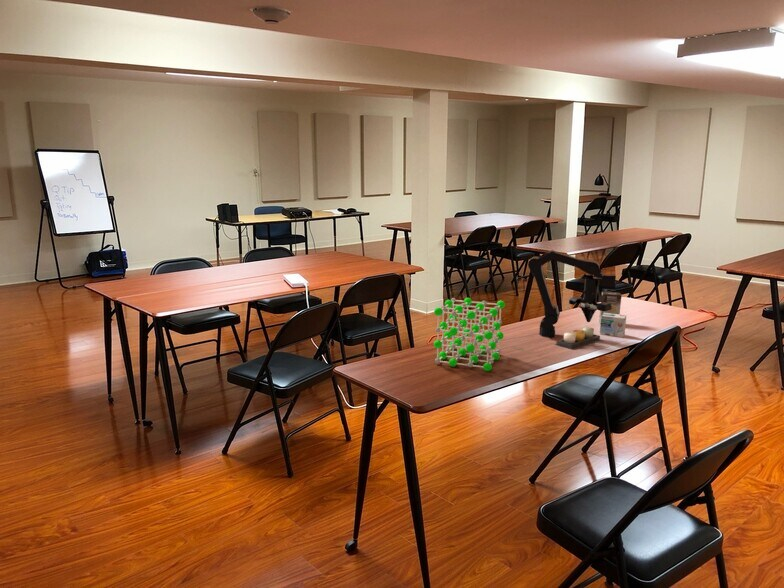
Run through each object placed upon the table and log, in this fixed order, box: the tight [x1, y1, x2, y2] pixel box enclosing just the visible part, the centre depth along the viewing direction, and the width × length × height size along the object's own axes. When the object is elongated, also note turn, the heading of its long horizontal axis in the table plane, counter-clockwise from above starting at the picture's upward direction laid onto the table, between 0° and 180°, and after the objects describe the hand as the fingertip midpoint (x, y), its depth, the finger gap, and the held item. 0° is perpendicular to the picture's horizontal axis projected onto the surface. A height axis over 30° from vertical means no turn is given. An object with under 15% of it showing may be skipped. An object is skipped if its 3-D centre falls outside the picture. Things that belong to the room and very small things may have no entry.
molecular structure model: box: [433, 297, 506, 372], centre depth 251 cm, size 24×25×24 cm
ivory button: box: [563, 332, 576, 344], centre depth 267 cm, size 5×5×4 cm
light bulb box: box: [599, 313, 627, 338], centre depth 284 cm, size 11×7×11 cm, turn 62°
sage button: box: [581, 326, 595, 338], centre depth 275 cm, size 5×5×4 cm
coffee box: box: [598, 291, 622, 325], centre depth 306 cm, size 9×6×16 cm
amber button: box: [572, 329, 585, 341], centre depth 271 cm, size 5×5×4 cm
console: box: [553, 333, 602, 351], centre depth 272 cm, size 10×23×3 cm, turn 129°
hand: (588, 322), depth 274 cm, fingers closed
